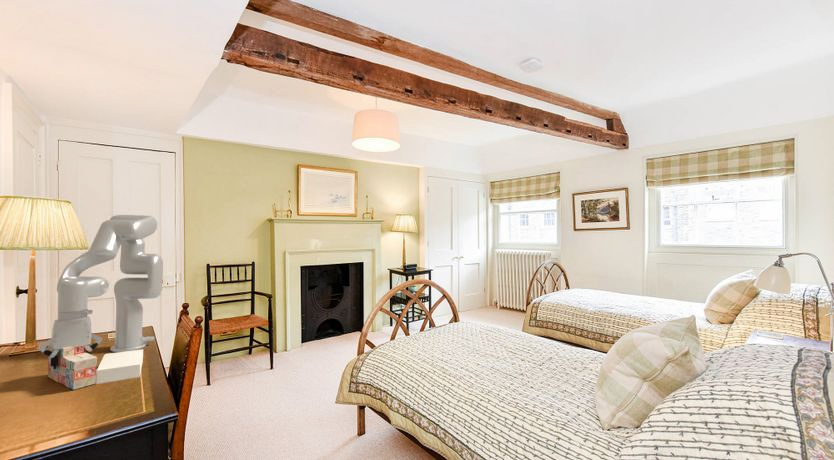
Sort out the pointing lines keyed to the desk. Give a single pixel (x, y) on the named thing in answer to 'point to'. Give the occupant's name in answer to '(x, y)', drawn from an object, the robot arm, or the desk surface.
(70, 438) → the desk surface
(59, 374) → the stack of blocks
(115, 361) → the block
